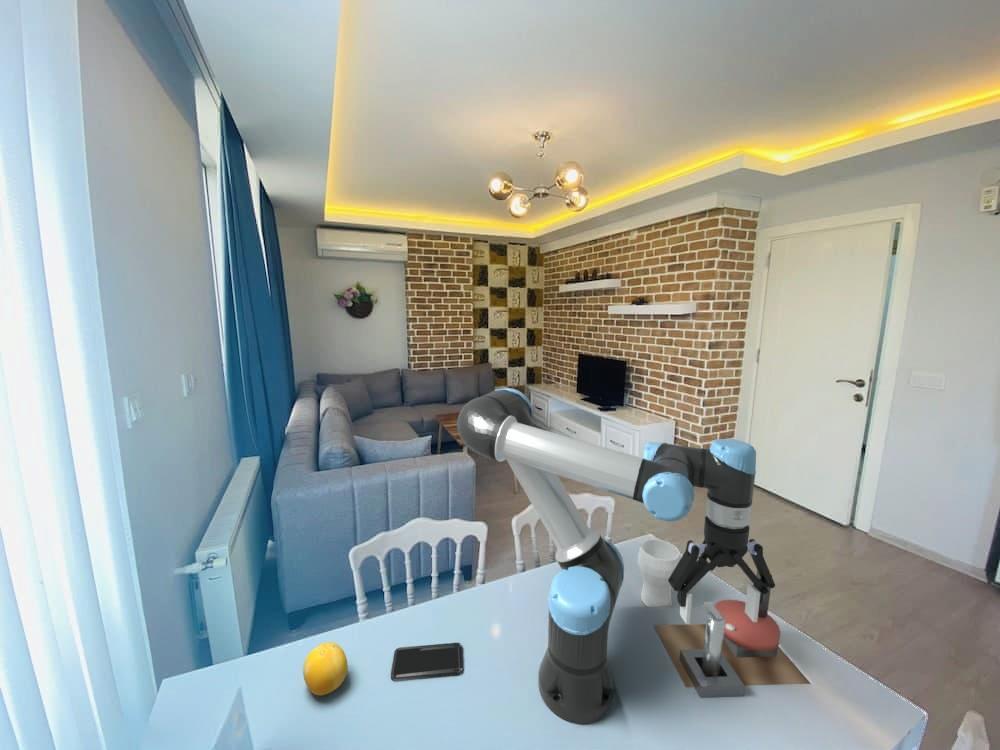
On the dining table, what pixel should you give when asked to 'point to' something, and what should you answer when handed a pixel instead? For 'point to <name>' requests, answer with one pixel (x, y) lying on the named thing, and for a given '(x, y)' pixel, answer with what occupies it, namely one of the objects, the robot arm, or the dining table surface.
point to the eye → (711, 686)
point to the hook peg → (712, 641)
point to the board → (731, 657)
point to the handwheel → (750, 625)
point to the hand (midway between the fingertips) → (717, 618)
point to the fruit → (325, 668)
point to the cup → (657, 571)
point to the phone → (427, 662)
